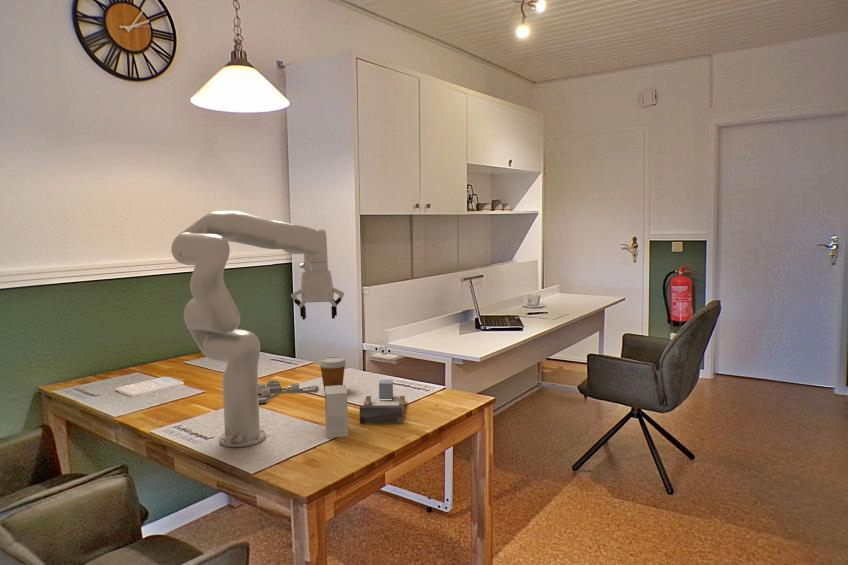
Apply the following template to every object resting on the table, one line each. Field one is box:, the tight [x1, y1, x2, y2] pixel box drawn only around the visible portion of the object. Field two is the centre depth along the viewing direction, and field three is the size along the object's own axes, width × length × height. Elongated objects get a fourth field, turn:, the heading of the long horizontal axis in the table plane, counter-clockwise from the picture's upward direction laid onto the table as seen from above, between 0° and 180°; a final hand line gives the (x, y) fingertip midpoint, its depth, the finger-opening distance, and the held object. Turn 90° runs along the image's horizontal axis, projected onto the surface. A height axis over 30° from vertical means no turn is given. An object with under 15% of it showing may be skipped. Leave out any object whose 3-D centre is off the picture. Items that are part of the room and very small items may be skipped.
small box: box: [324, 384, 349, 439], centre depth 170 cm, size 8×6×13 cm
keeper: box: [378, 379, 394, 400], centre depth 202 cm, size 4×4×6 cm
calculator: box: [115, 376, 185, 397], centre depth 216 cm, size 13×20×2 cm, turn 141°
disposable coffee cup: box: [318, 356, 347, 393], centre depth 209 cm, size 10×10×12 cm
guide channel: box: [359, 395, 406, 425], centre depth 188 cm, size 21×13×5 cm, turn 0°
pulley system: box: [258, 380, 319, 404], centre depth 208 cm, size 27×5×15 cm
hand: (318, 318), depth 192 cm, fingers open, 9 cm apart
